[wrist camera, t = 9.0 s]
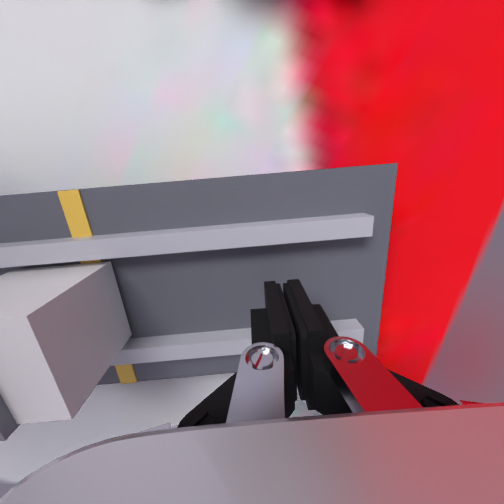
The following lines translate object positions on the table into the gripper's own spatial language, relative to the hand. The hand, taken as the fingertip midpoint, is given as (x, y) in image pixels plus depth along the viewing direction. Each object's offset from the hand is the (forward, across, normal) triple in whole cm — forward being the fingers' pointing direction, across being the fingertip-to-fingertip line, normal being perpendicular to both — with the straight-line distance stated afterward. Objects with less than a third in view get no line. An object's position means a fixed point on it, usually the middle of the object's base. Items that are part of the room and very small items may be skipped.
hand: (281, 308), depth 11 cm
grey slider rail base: (+5, +7, 0) cm, 9 cm away
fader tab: (+2, +11, 0) cm, 11 cm away
